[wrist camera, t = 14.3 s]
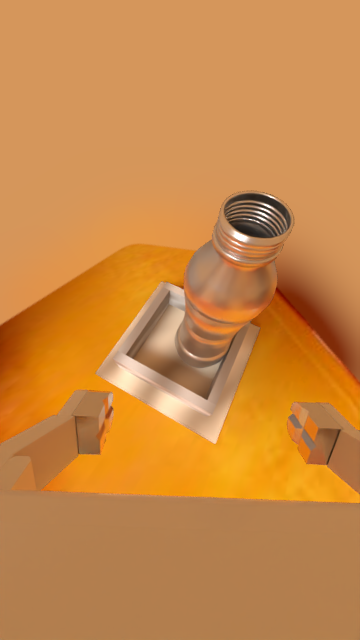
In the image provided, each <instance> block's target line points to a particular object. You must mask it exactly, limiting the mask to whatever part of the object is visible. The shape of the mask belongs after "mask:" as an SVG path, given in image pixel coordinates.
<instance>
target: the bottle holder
mask: <svg viewBox="0 0 360 640" xmlns="http://www.w3.org/2000/svg"><path fill="white" fill-rule="evenodd" d="M184 315H185V295H184V290H183V289H181V288H179V287H177V286H175V285H173V284H171V283H168V282H166V283H164V282H162V281H161V283H160V284H159V286H158V287H157V288H156V290H155V291H154V293H153V294H152V295H151V297H150V298H149V300H148V301H147V302H146V304H145V305H144V306H143V308H142V309H141V311H140V312H139V313H138V315H137V316H136V318H135V319H134V320H133V322H132V323H131V324H130V326H129V327H128V329H127V330H126V331H125V333H124V334H123V336H122V337H121V338H120V340H119V341H118V343H117V344H116V345H115V347H114V348H113V349H112V351H111V352H110V354H109V355H108V356H107V358H106V359H105V361H104V362H103V363H102V365H101V366H100V368H99V369H98V370H97V372H96V374H97V375H98V376H100V377H102V378H103V379H105V380H107V381H108V382H110V383H112V384H114V385H115V386H117V387H119V388H120V389H122V390H124V391H125V392H127V393H129V394H131V395H132V396H134V397H136V398H137V399H139V400H141V401H142V402H144V403H146V404H148V405H149V406H151V407H153V408H154V409H156V410H158V411H159V412H161V413H163V414H165V415H166V416H168V417H170V418H171V419H173V420H175V421H176V422H178V423H180V424H182V425H183V426H185V427H187V428H188V429H190V430H192V431H193V432H195V433H197V434H199V435H200V436H202V437H204V438H205V439H207V440H209V441H210V442H212V443H214V444H216V441H217V439H218V436H219V433H220V431H221V428H222V426H223V423H224V421H225V418H226V415H227V413H228V410H229V408H230V405H231V403H232V400H233V397H234V395H235V392H236V390H237V387H238V385H239V382H240V379H241V377H242V374H243V372H244V369H245V367H246V364H247V361H248V359H249V356H250V354H251V351H252V349H253V346H254V343H255V341H256V338H257V336H258V333H259V331H260V327H258V326H256V325H254V324H251V321H250V322H248V323H247V324H246V325H244V326H243V327H242V328H241V329H240V330H239V331H238V332H237V333H236V334H235V335H234V337H233V338H232V340H231V343H230V347H229V349H228V352H227V354H226V355H225V357H224V358H223V359H222V360H221V361H220V362H218V363H217V364H215V365H212V366H210V367H206V368H196V367H192V366H190V365H188V364H186V363H185V362H184V361H183V360H182V359H181V358H180V357H179V355H178V353H177V350H176V348H175V335H176V332H177V330H178V328H179V326H180V324H181V323H182V321H183V318H184Z"/></svg>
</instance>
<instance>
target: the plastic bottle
mask: <svg viewBox="0 0 360 640" xmlns="http://www.w3.org/2000/svg"><path fill="white" fill-rule="evenodd" d="M293 225H294V216H293V213H292V211H291V209H290V208H289V207H288V206H287V204H285V203H284V202H283V201H282V200H280V199H278V198H277V197H275V196H273V195H271V194H267V193H264V192H259V191H242V192H238V193H235V194H232V195H231V196H229V197H228V198H227V199H226V200H225V201H224V203H223V204H222V207H221V209H220V213H219V217H218V221H217V223H216V225H215V226H214V230H213V234H212V240H210V241H209V242H207V243H206V244H205V245H203V246H202V247H200V248H199V249H198V250H197V251H196V252H195V253H194V255H193V257H192V258H191V260H190V261H189V263H188V265H187V266H186V269H185V273H184V295H185V315H184V318H183V321H182V323H181V324H180V326H179V328H178V330H177V332H176V335H175V348H176V350H177V353H178V355H179V357H180V358H181V359H182V360H183V361H184V362H185V363H186V364H188V365H190V366H192V367H196V368H206V367H210V366H212V365H215V364H217V363H218V362H220V361H221V360H222V359H223V358H224V357H225V355H226V354H227V352H228V349H229V347H230V343H231V340H232V338H233V337H234V335H235V334H236V333H237V332H238V331H239V330H240V329H241V328H242V327H243V326H244V325H246V324H247V323H248V322H250V321H251V320H252V319H254V318H255V317H257V316H258V315H259V314H260V313H261V312H262V311H263V310H264V309H265V308H266V307H267V306H268V305H269V304H270V302H271V301H272V299H273V296H274V293H275V290H276V286H277V278H278V276H277V271H276V266H275V261H274V260H275V259H276V258H277V256H278V255H279V253H280V252H281V250H282V248H283V245H284V242H285V240H286V239H287V237H288V236H289V234H290V233H291V231H292V228H293Z"/></svg>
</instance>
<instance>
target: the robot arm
mask: <svg viewBox="0 0 360 640" xmlns="http://www.w3.org/2000/svg"><path fill="white" fill-rule="evenodd" d="M112 401H113V393H112V392H108V391H95V390H79V389H78V390H76V391H75V392H74V393H73V394H72V396H71V397H70V398H69V400H68V401H67V402H66V404H65V405H64V406H63V408H62V409H61V411H60V412H59V413H58V415H53V416H51V417H49V418H47V419H45V420H43V421H42V422H40V423H38V424H36V425H34V426H32V427H31V428H29V429H27V430H25V431H23V432H21V433H20V434H18V435H16V436H14V437H12V438H10V439H9V440H7V441H5V442H3V443H1V444H0V640H360V503H338V502H313V501H288V500H263V499H237V498H211V497H185V496H159V495H134V494H108V493H82V492H56V491H40V490H41V489H43V488H44V487H45V486H46V485H47V484H48V483H49V482H50V481H51V480H52V479H53V478H55V477H56V476H57V475H58V474H59V473H60V472H61V471H62V470H63V469H64V468H65V467H66V466H68V465H69V464H70V463H71V462H72V461H73V460H74V459H75V458H76V457H77V456H78V454H101V452H102V449H103V446H104V444H105V441H106V434H107V433H108V432H109V431H110V428H111V425H112V420H113V408H112V406H111V403H112ZM291 411H292V413H293V414H292V415H291V416H289V417H288V421H287V429H288V433H289V435H290V437H291V439H292V440H293V441H294V442H295V443H297V444H298V451H299V452H300V454H301V455H302V457H303V459H304V460H305V462H306V464H318V465H328V466H327V467H329V468H330V469H331V470H332V471H333V472H334V473H336V474H337V475H338V476H339V477H340V478H341V479H343V480H344V481H345V482H346V483H347V484H348V485H349V486H351V487H352V488H353V489H354V490H355V491H356V492H358V493H359V494H360V430H356V429H355V428H354V427H353V426H352V425H351V424H350V423H349V422H348V421H347V420H346V419H345V418H344V417H343V416H342V415H341V414H340V413H339V412H338V411H337V410H336V409H335V408H334V407H333V406H332V405H331V404H329V403H307V402H294V403H293V404H292V406H291Z"/></svg>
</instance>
